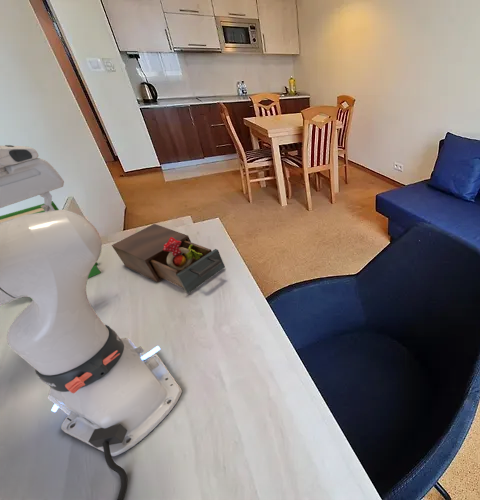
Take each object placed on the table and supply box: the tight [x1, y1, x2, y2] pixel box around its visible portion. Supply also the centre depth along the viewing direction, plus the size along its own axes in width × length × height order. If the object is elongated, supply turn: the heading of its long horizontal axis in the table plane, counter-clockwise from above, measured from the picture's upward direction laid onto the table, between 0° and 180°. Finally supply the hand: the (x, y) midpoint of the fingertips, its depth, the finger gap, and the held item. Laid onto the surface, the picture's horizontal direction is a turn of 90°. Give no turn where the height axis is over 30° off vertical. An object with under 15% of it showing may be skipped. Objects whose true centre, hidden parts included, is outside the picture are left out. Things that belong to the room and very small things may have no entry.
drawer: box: [149, 240, 226, 295], centre depth 92 cm, size 23×13×7 cm, turn 59°
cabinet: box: [111, 223, 192, 283], centre depth 100 cm, size 20×15×9 cm
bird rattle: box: [163, 237, 202, 271], centre depth 90 cm, size 6×11×9 cm
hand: (26, 221), depth 68 cm, fingers open, 8 cm apart
